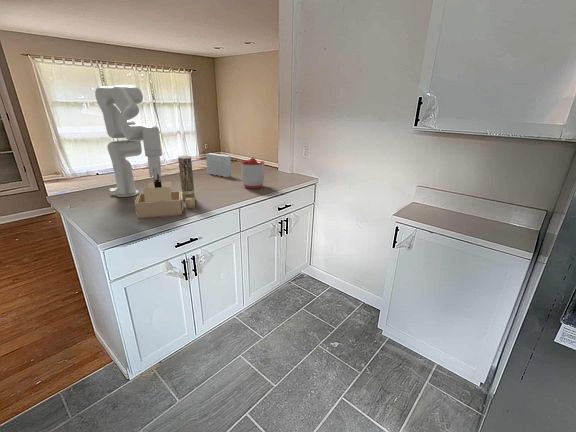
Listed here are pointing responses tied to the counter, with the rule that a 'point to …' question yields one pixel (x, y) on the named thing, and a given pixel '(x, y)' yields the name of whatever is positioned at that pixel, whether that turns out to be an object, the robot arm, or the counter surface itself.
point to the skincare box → (218, 164)
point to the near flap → (157, 194)
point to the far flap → (164, 184)
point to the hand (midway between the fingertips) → (158, 189)
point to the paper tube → (186, 177)
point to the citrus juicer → (252, 173)
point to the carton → (159, 206)
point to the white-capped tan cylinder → (190, 203)
